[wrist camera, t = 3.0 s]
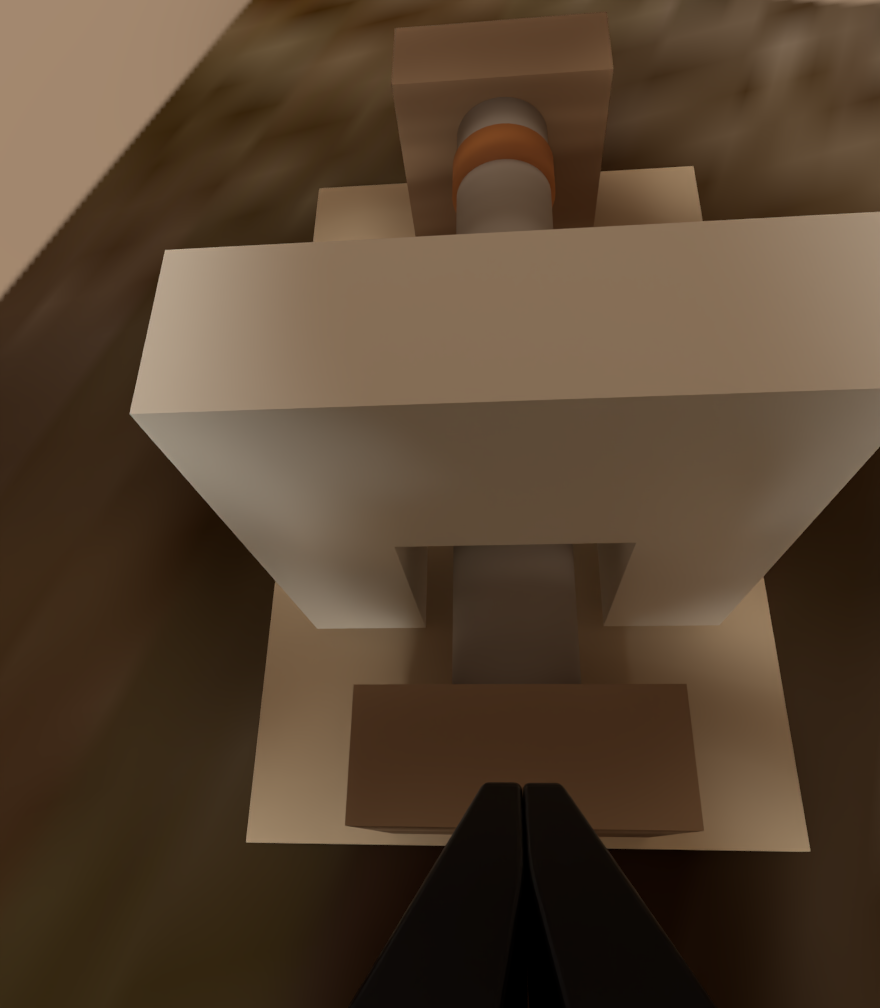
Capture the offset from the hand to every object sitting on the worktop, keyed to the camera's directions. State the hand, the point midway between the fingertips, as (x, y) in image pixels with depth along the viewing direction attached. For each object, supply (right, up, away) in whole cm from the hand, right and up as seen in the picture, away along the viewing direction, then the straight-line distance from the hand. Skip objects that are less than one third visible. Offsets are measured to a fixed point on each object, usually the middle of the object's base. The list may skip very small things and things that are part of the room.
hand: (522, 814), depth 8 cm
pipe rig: (+1, +4, +11) cm, 12 cm away
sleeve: (+1, +2, +9) cm, 9 cm away
